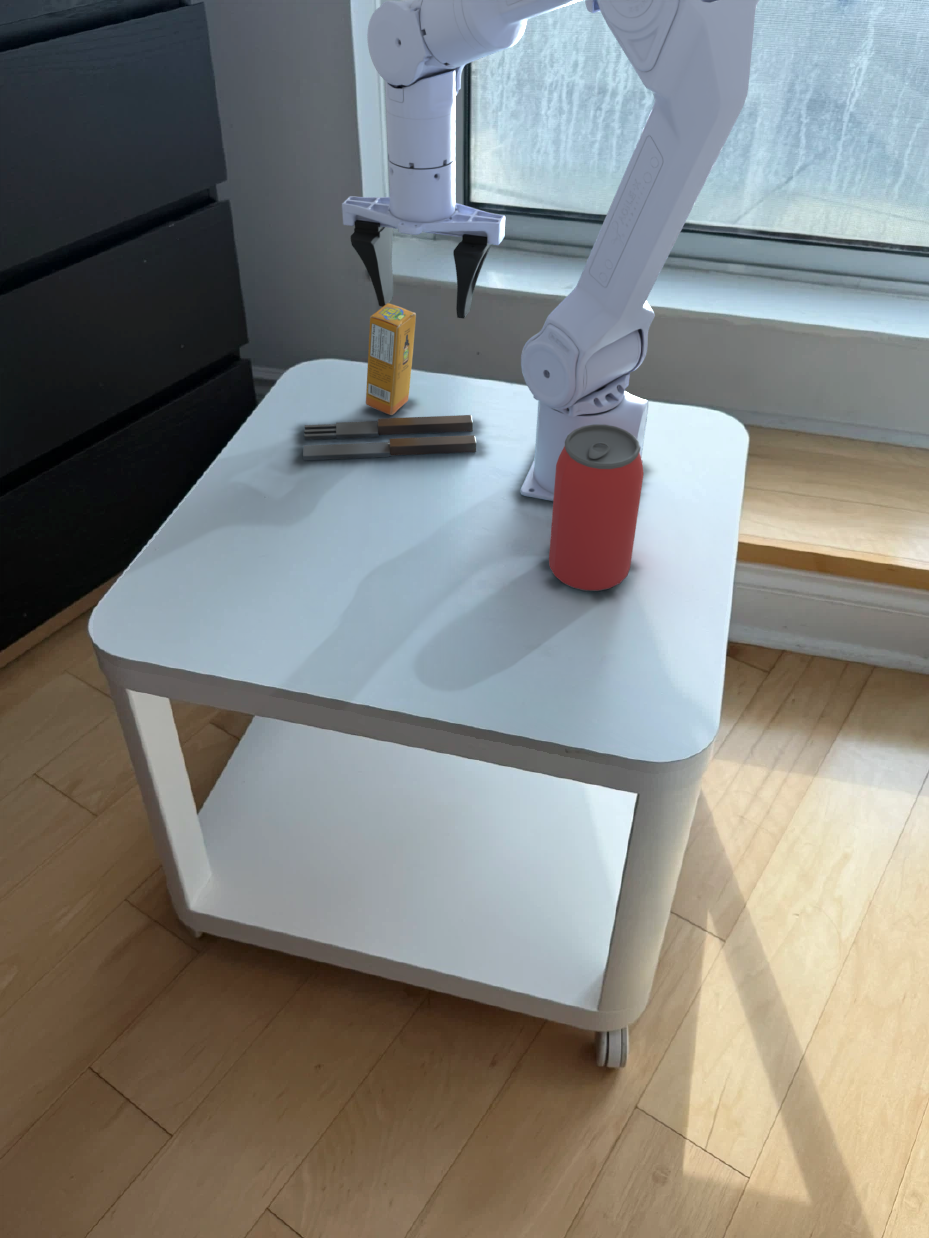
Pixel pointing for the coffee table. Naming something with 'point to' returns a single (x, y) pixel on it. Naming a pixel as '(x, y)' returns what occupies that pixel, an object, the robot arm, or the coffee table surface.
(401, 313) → the supplement box
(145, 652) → the coffee table surface
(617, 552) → the beer can
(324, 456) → the cutlery
